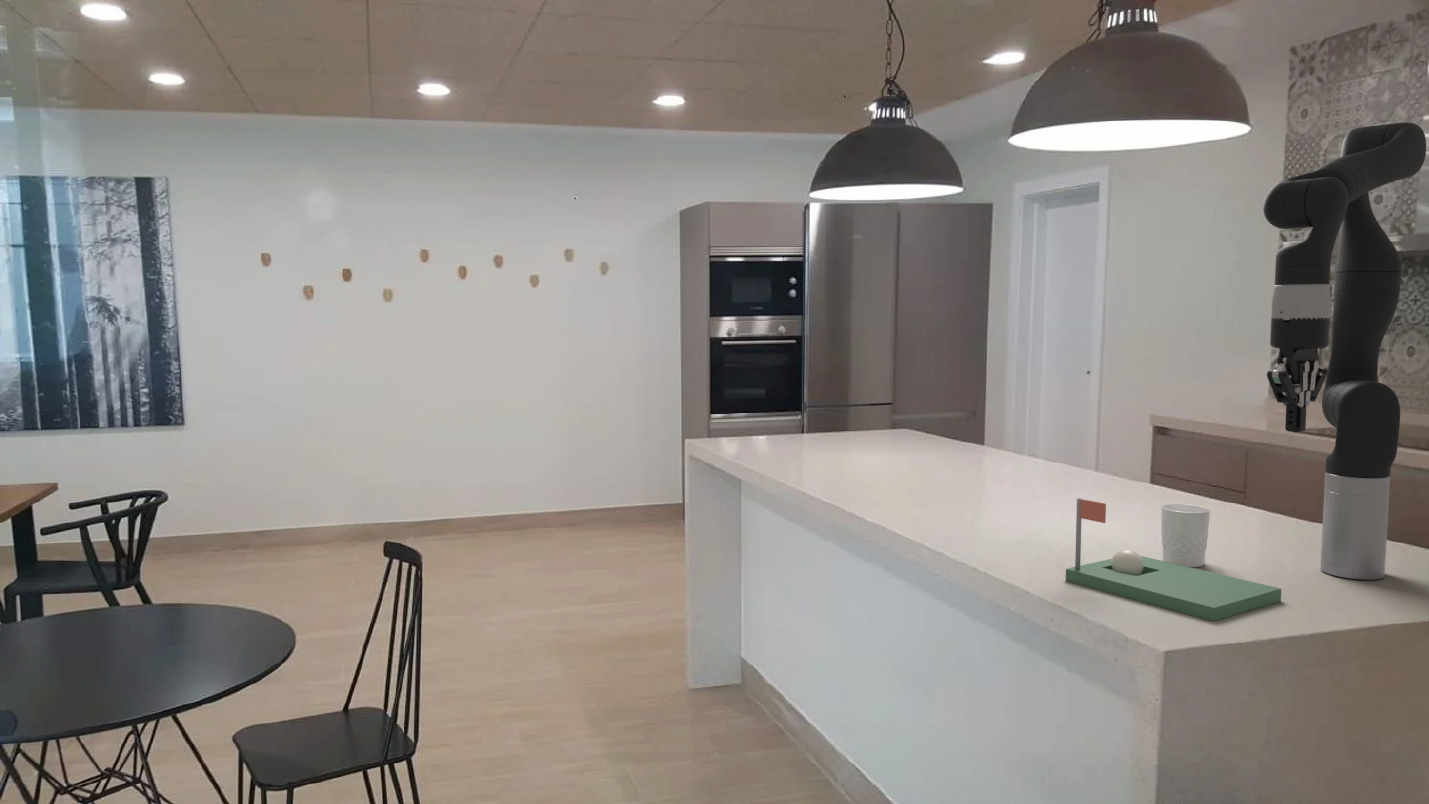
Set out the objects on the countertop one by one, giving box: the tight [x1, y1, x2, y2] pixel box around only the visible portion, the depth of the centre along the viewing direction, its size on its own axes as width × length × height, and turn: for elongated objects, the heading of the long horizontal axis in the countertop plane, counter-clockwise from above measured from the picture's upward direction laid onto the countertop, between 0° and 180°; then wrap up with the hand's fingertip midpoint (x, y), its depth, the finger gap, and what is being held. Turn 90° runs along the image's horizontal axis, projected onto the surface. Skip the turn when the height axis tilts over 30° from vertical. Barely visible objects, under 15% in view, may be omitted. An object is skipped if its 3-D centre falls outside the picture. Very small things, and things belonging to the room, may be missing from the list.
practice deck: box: [1065, 498, 1282, 622], centre depth 157 cm, size 18×26×14 cm
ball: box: [1111, 549, 1144, 576], centre depth 163 cm, size 5×5×5 cm
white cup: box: [1160, 503, 1211, 568], centre depth 174 cm, size 8×8×10 cm
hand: (1295, 431), depth 146 cm, fingers closed
